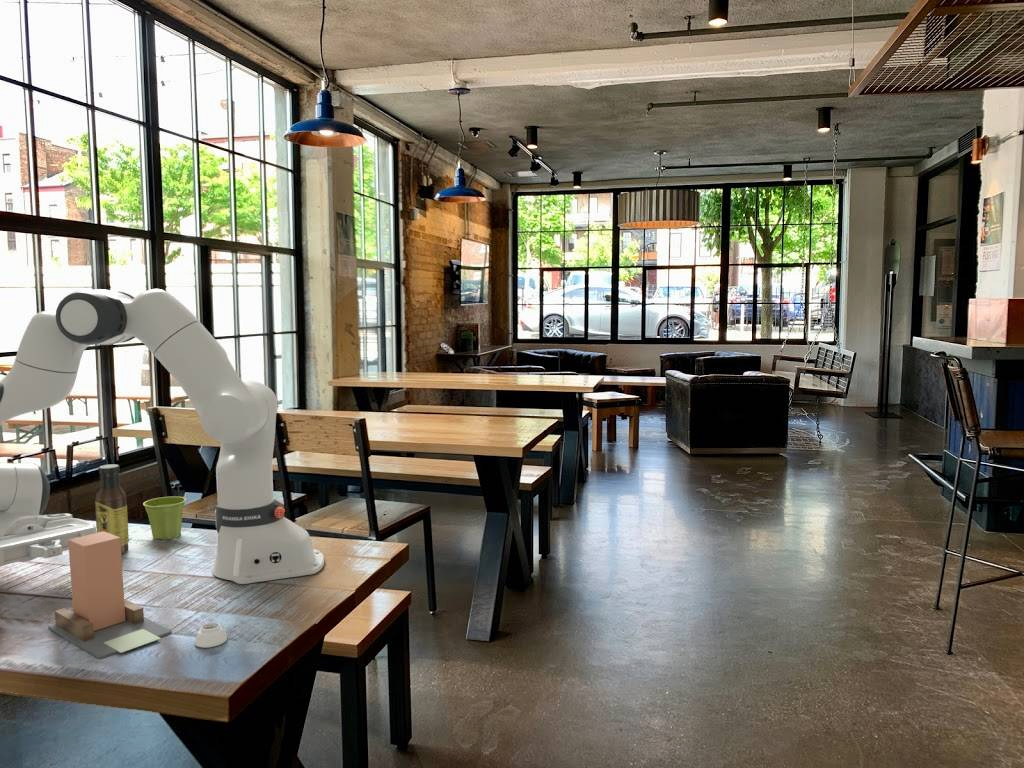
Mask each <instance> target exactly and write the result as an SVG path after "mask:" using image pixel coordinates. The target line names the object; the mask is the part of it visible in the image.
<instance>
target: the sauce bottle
mask: <svg viewBox="0 0 1024 768" xmlns="http://www.w3.org/2000/svg"><path fill="white" fill-rule="evenodd" d="M98 473H99V479H100V483H99V486H100V489H99V490H98V491H97V493H96V496H95V500H94V505H95V524H96V526H95V527H96V531H97V533H99V532H103V531H105V532H107V533H110V534H112V535H115V536H118V537H120V542H121V555H122V553H123V554H125V553H127V552H128V550H129V542H130V538H129V520H128V504H127V495H126V493H125V490H124V489H123V488H122V487H121V486H120V484H121V482H120V476H119V475H120V474H119V473H120V465H119V464H114V463H113V464H104V465H100V466H99V467H98Z"/></svg>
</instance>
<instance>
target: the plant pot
mask: <svg viewBox="0 0 1024 768" xmlns="http://www.w3.org/2000/svg"><path fill="white" fill-rule="evenodd" d="M186 502H187V498H186V497H183V496H163V497H156V498H151V499H148V500H146V501H144V502H143V503H142V506H144V508H145V512H146V513H147V517H148V520H149V524H150V525H149V526H150V529H151V534H152V535H151V536H152V538H153V539H154V540H159V539H160V540H164V541H165V540H171V539H175V538H177V537H179V536H181V533H182V524H183V513H184V511H183V510H184V508H185V503H186Z"/></svg>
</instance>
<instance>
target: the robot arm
mask: <svg viewBox="0 0 1024 768" xmlns="http://www.w3.org/2000/svg"><path fill="white" fill-rule="evenodd" d="M135 338H136V339H138V341H140V342H141V343H142V344H143V345H144V346H146V348H147V349H148V350H149V351H150V352H151V353H152V355H153V357H155V358H156V359H157V361H159V362H160V364H161V365H162V366H163V367H164V368H165V369H166V370H167V372H168V373H170V375H171V377H173V379H175V381H176V382H177V384H179V386H180V387H181V388H182V390H183V391H184V393H185V395H186V396H187V397H188V398H187V399H189V401H190V403H191V405H192V407H193V408H194V410H195V412H196V413H197V415H198V417H199V419H200V425H201V428H202V430H203V431H204V433H205V434H206V435H207V436H208V437H209V438H210V439H212V440H213V441H216V442H218V443H220V447H219V448H220V449H219V450H220V451H219V455H218V460H217V462H216V466H215V473H216V474H215V477H216V493H217V494H216V495H217V496H216V497H217V504H216V506H215V511H214V514H215V515H214V518H215V528H216V532H217V544H216V545H217V546H216V554H215V560H214V564H213V569H212V575H213V576H215V577H216V578H219V579H223V580H228V581H232V582H234V583H236V584H238V585H246V584H253V583H259V582H267V581H275V580H283V579H287V578H288V579H289V578H294V577H295V578H296V577H302V576H309V575H314V574H317V573H318V572H320V571H321V570H322V569H323V567H324V565H325V557H324V554H323V552H321V551H320V550H319V549H315V548H314V545H313V541H312V538H311V536H310V534H309V531H307V530H306V529H304V528H303V527H301V526H300V525H297V524H296V523H294V522H293V521H292V520H290V519H288V518H286V517H285V512H286V509H285V506H284V502H283V500H280V501H279V500H276V499H274V482H273V480H274V478H273V477H274V476H273V474H274V473H273V459H274V458H273V457H274V451H275V449H274V448H275V441H276V440H275V439H276V436H275V435H276V424H277V423H276V422H277V412H278V398H277V396H276V393H275V392H274V391H273V390H272V389H271V388H270V387H269V386H267V385H266V384H264V383H261V382H257V381H254V380H253V381H252V380H251V381H250V380H249V381H248V380H247V381H243V380H242V379H241V377H240V376H239V374H238V373H237V372H236V370H235V368H234V367H233V365H232V363H231V362H230V359H229V358H228V354H227V352H226V350H225V348H224V347H222V345H221V344H220V343H219V342H218V341H217V339H216V338H215V337H214V336H213V335H212V334H211V332H210V331H208V329H207V328H206V327H205V325H203V324H202V322H200V320H199V319H198V318H197V317H196V316H195V315H194V314H193V313H192V312H191V311H190V310H189V309H188V307H186V306H185V305H184V304H183V303H182V302H181V301H180V300H178V299H176V298H175V297H174V296H173V295H171V294H170V293H169V292H167V291H166V290H164V289H162V288H161V289H160V288H152V289H148V290H145V291H142V292H140V293H139V294H138V295H136V296H132V295H131V294H129V293H126V292H124V291H123V292H122V291H114V290H109V289H102V288H97V289H81V290H76V291H74V292H72V293H69V294H68V295H66V296H65V297H63V298H62V300H60V301H59V304H58V306H57V308H56V309H55V310H53V309H49V310H42V311H39V312H37V313H36V314H34V315H33V316H32V318H31V319H30V321H29V323H28V325H27V327H26V328H25V330H24V332H23V336H22V338H21V340H20V343H19V346H18V347H17V348H18V349H17V352H16V356H15V359H14V363H13V364H12V367H11V369H9V372H8V373H7V374H6V375H5V376H4V377H3V378H2V379H1V380H0V427H1V426H2V425H3V424H4V423H6V422H7V421H9V420H11V419H13V418H16V417H18V416H22V415H24V414H25V415H26V414H28V413H34V412H38V411H43V410H47V409H49V408H52V407H54V406H56V405H58V404H60V403H61V402H63V401H64V400H65V399H67V398H68V397H69V395H71V392H72V391H73V389H74V385H75V383H76V379H77V376H78V375H77V374H78V372H79V367H80V365H81V364H80V363H81V359H82V356H83V354H84V352H85V350H86V349H87V348H88V347H89V346H94V345H100V346H108V345H116V344H120V343H126V342H130V341H132V340H133V339H135ZM50 491H51V485H50V481H49V478H48V477H47V474H46V473H45V471H44V470H43V469H42V468H41V467H40V466H39V465H38V464H36V463H26V462H25V463H24V462H0V567H1V566H5V565H6V566H7V565H10V564H14V563H18V562H19V563H20V562H22V563H24V562H29V561H32V560H35V559H37V558H43V559H49V558H53V557H57V556H62V555H63V552H65V551H69V545H68V540H69V539H73V538H77V537H82V536H86V535H90V534H94V533H97V528H96V526H95V524H93V523H91V522H89V521H87V520H84V519H82V518H81V519H80V518H74V517H73V514H71V513H55V514H43V513H44V511H45V510H46V509H47V505H48V503H49V500H50V496H51V495H50V494H51V493H50Z"/></svg>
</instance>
